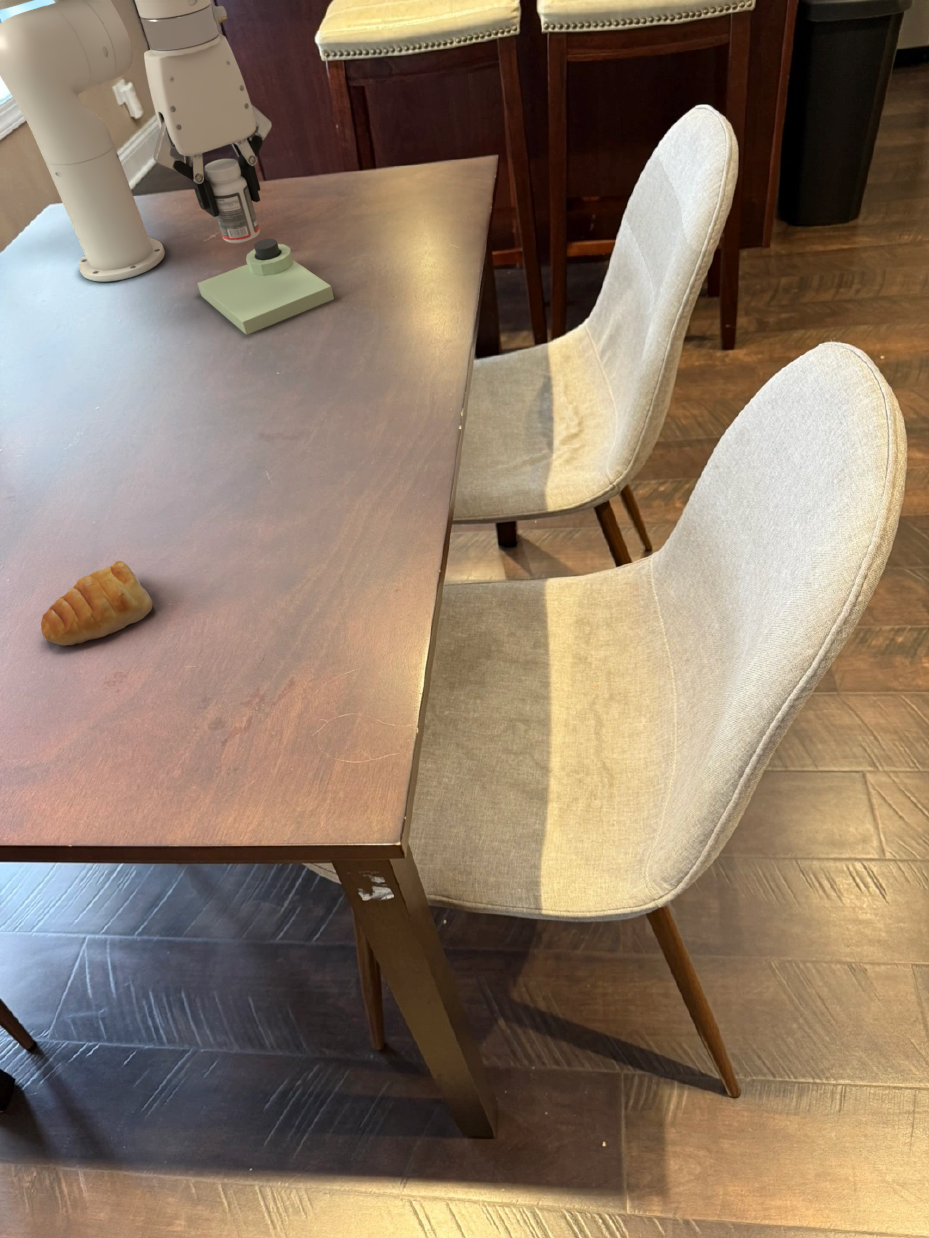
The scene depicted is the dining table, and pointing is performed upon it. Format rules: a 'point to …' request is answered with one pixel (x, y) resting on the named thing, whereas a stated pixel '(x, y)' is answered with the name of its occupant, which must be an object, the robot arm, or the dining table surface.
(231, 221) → the pill bottle
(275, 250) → the button
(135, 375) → the dining table surface
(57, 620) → the pastry
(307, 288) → the green button base
